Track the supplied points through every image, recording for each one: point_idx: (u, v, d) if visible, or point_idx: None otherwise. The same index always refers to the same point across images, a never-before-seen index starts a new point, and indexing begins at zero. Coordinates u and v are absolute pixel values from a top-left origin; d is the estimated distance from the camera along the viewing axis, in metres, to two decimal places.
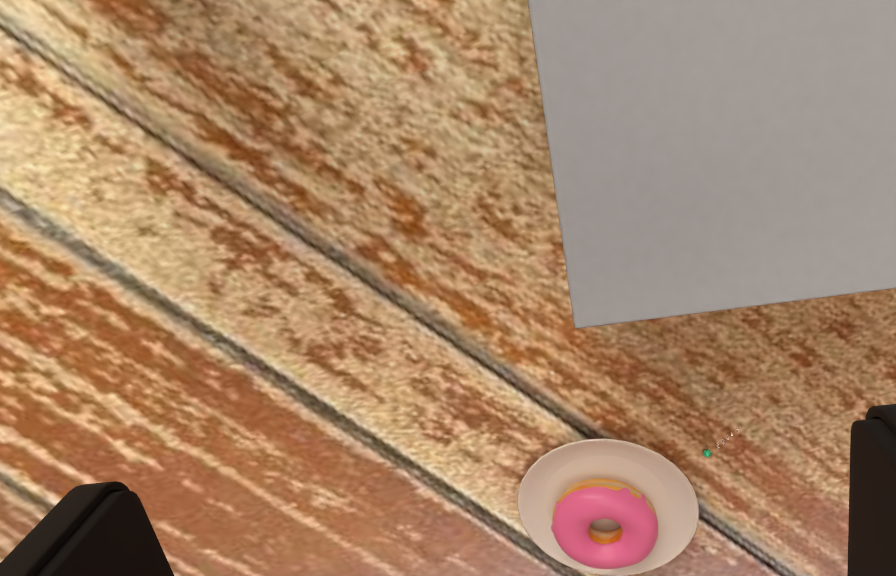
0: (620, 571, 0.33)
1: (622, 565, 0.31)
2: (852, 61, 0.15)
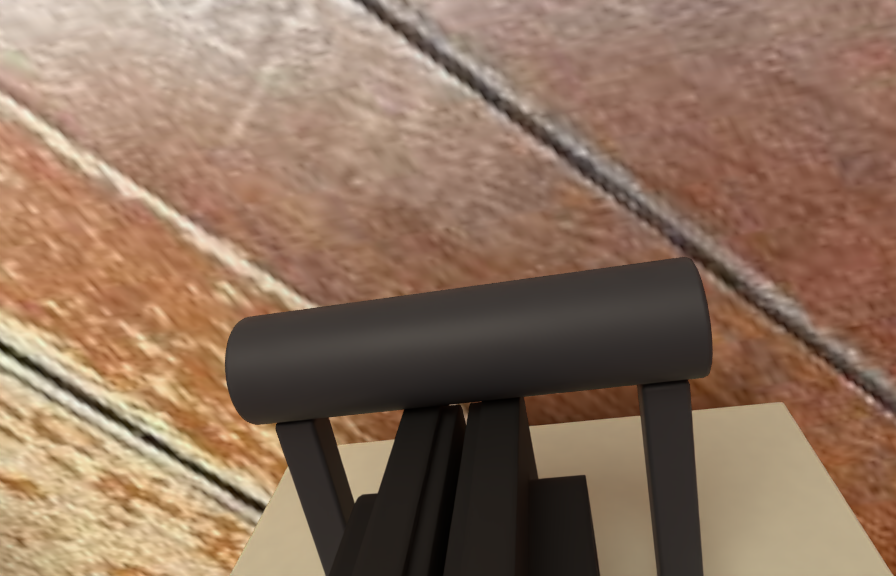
0: None
1: None
2: None
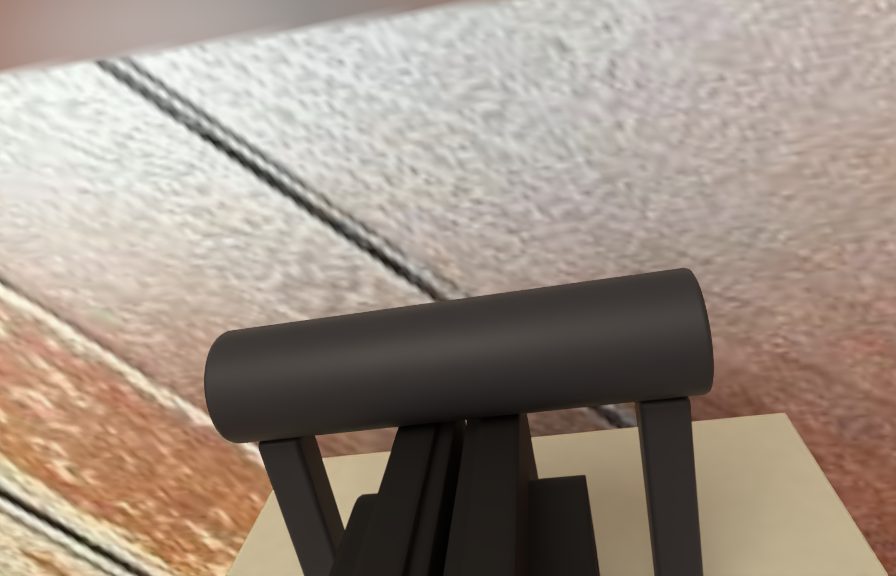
0: None
1: None
2: None
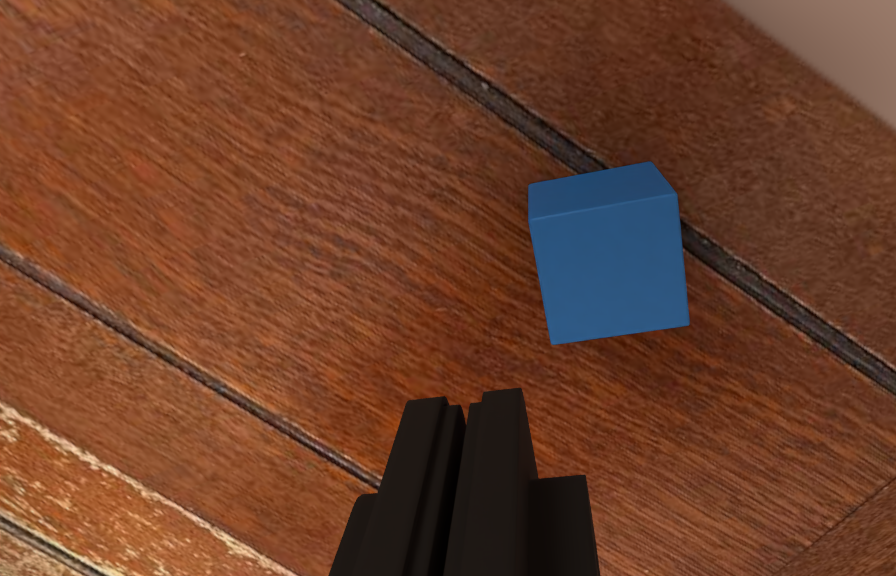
0: None
1: None
2: None
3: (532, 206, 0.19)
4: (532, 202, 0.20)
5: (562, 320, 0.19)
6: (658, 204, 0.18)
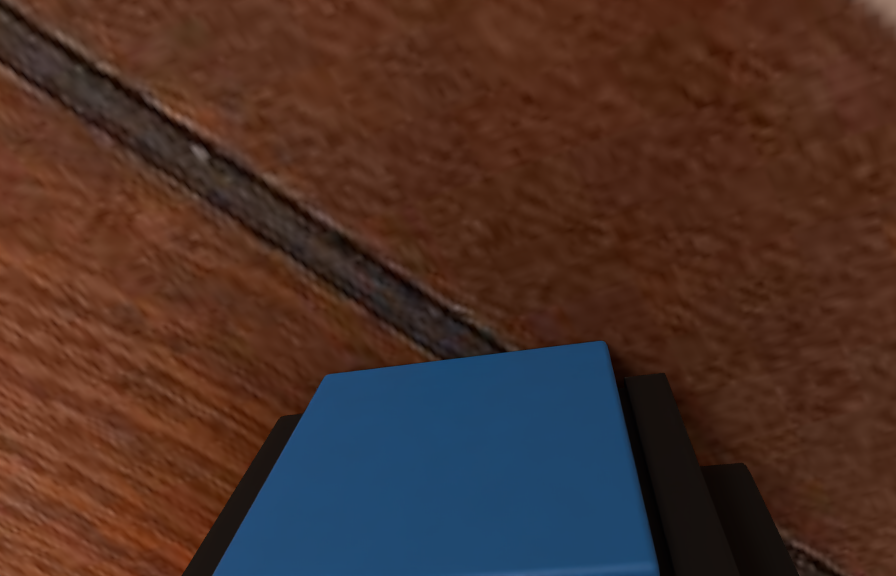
0: None
1: None
2: None
3: (259, 504, 0.07)
4: (274, 478, 0.07)
5: None
6: None
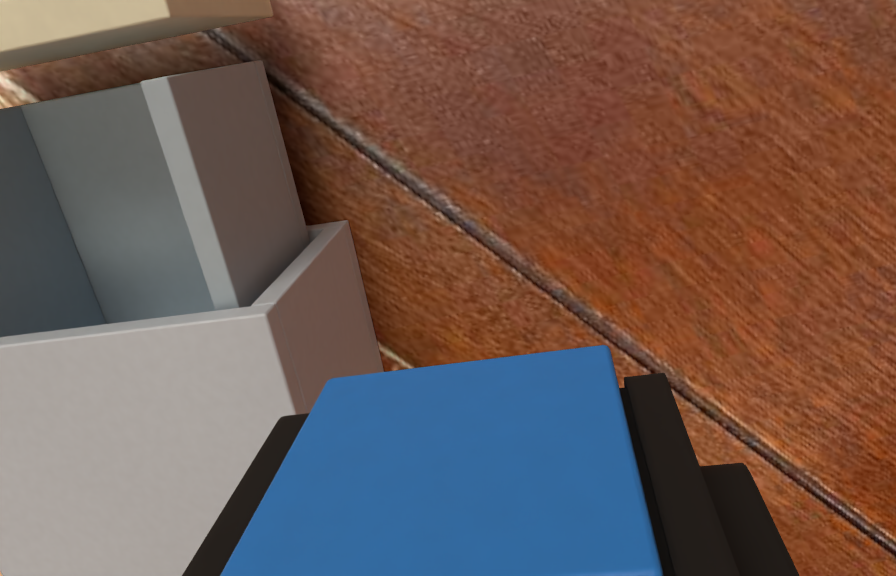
0: None
1: None
2: (184, 563, 0.22)
3: (263, 509, 0.07)
4: (278, 482, 0.07)
5: None
6: None
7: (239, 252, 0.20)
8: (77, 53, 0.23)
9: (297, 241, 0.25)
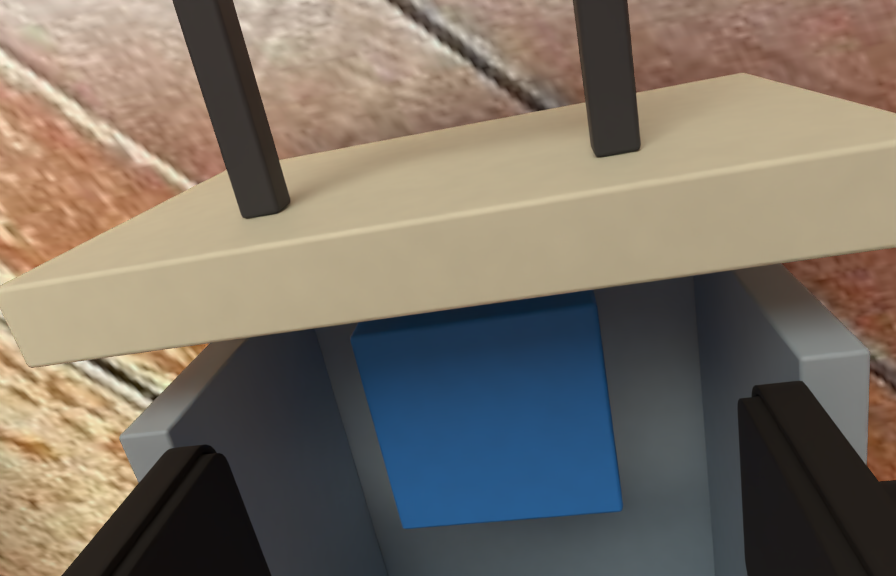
0: None
1: None
2: None
3: None
4: None
5: (416, 494, 0.12)
6: (564, 321, 0.10)
7: None
8: None
9: None
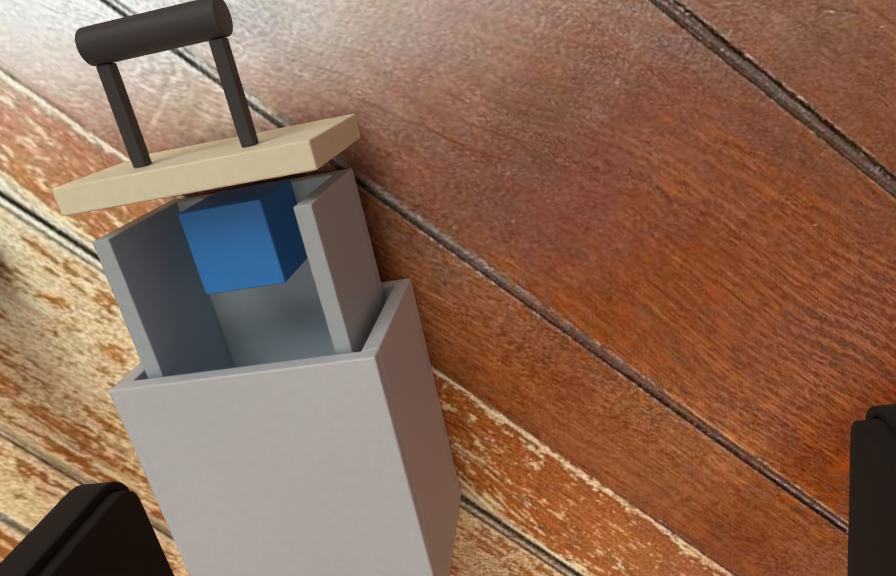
0: None
1: None
2: (308, 529, 0.32)
3: (191, 206, 0.31)
4: (196, 203, 0.31)
5: (209, 278, 0.31)
6: (250, 205, 0.29)
7: (349, 311, 0.29)
8: None
9: (377, 295, 0.34)
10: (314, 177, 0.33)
